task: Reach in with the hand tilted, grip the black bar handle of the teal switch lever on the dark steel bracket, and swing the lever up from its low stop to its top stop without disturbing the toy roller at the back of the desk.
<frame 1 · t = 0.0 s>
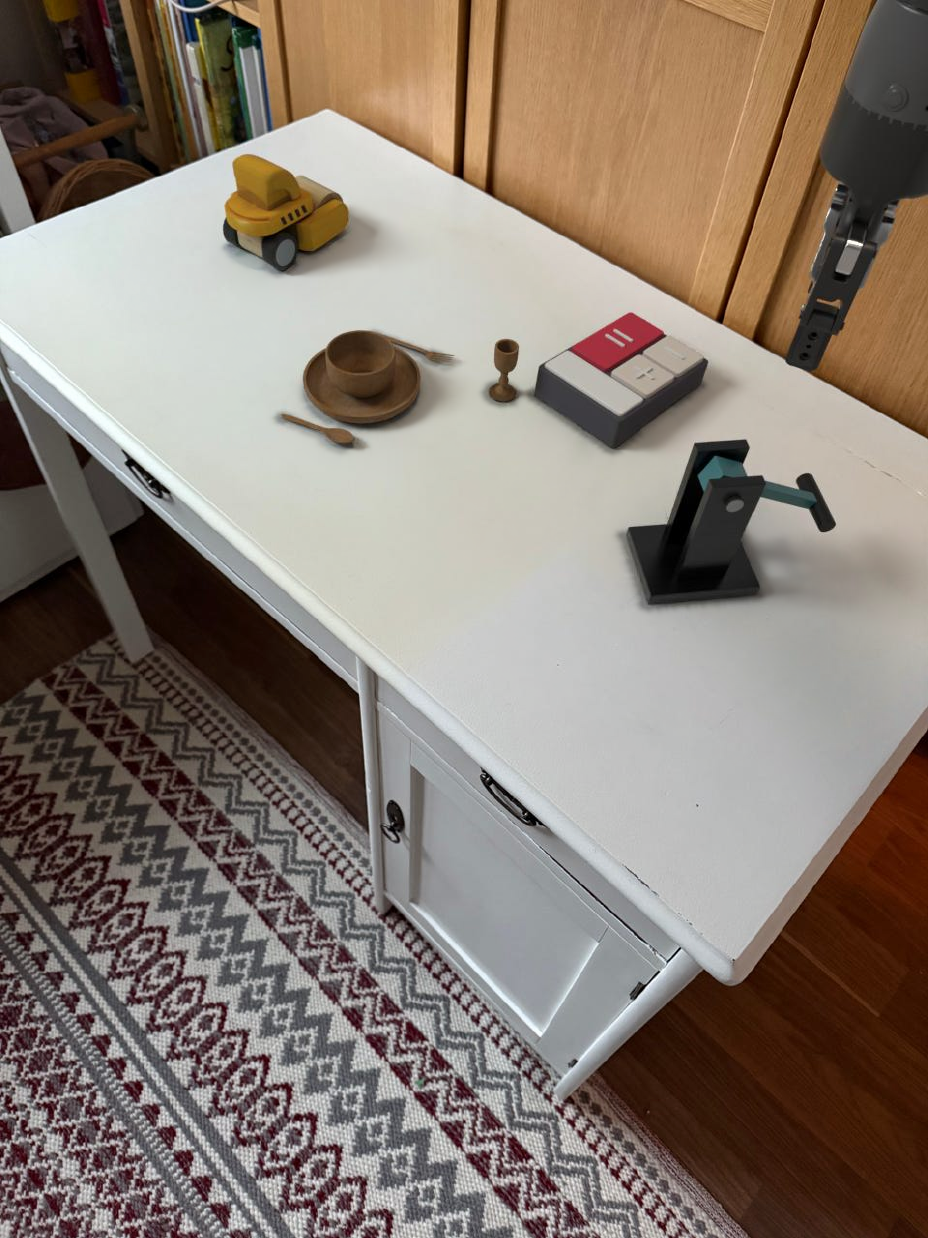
hand: (811, 329, 64), 24 cm above the table, tool pointing down, fingers open, 8 cm apart
calculator: (618, 390, 96), on the table
bracket: (689, 564, 82), on the table
place setting: (397, 403, 93), on the table
lever: (767, 490, 75), point 9 cm above the table, hinge at -22.0°
toy roller: (288, 242, 108), on the table
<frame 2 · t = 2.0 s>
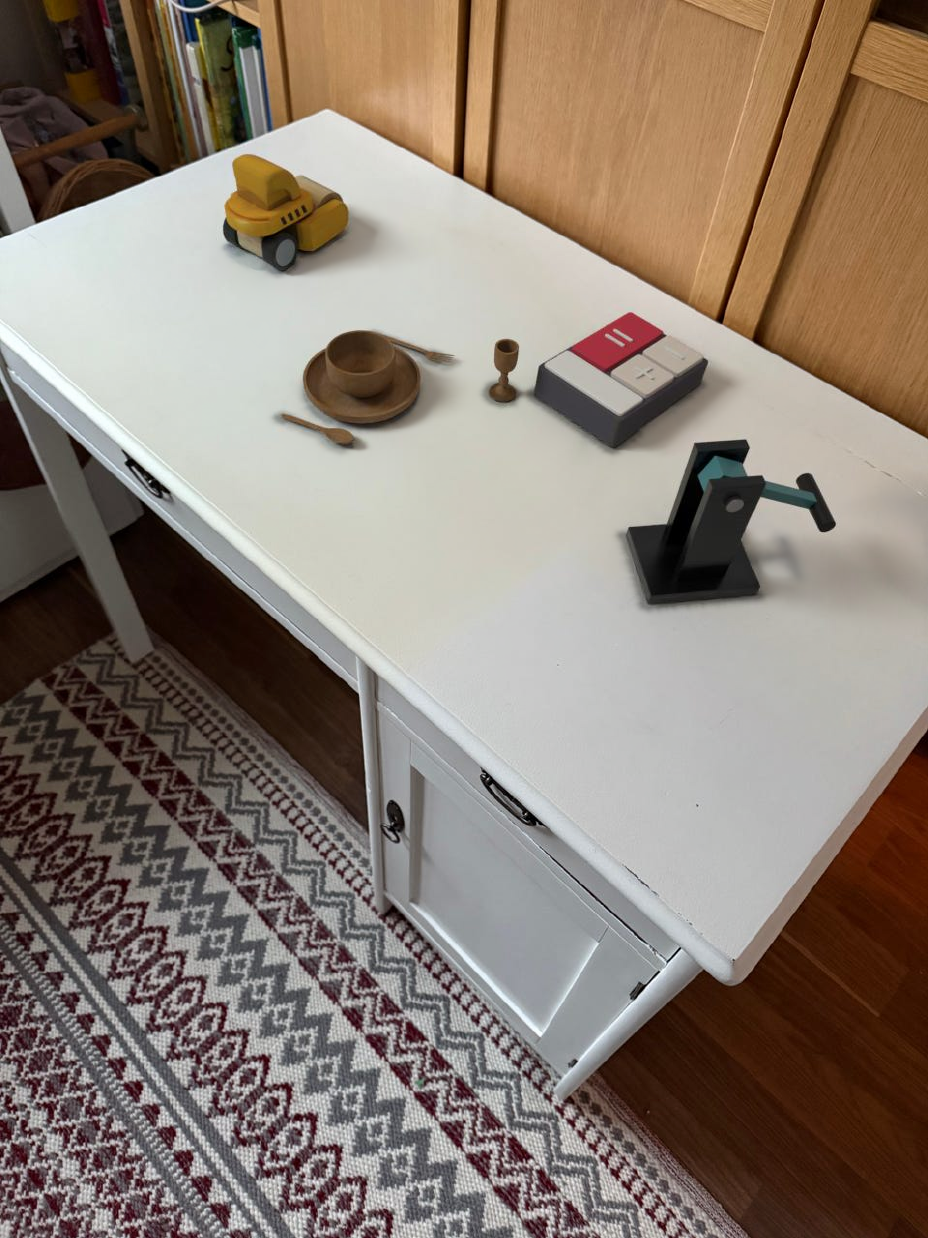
nothing on the table moved.
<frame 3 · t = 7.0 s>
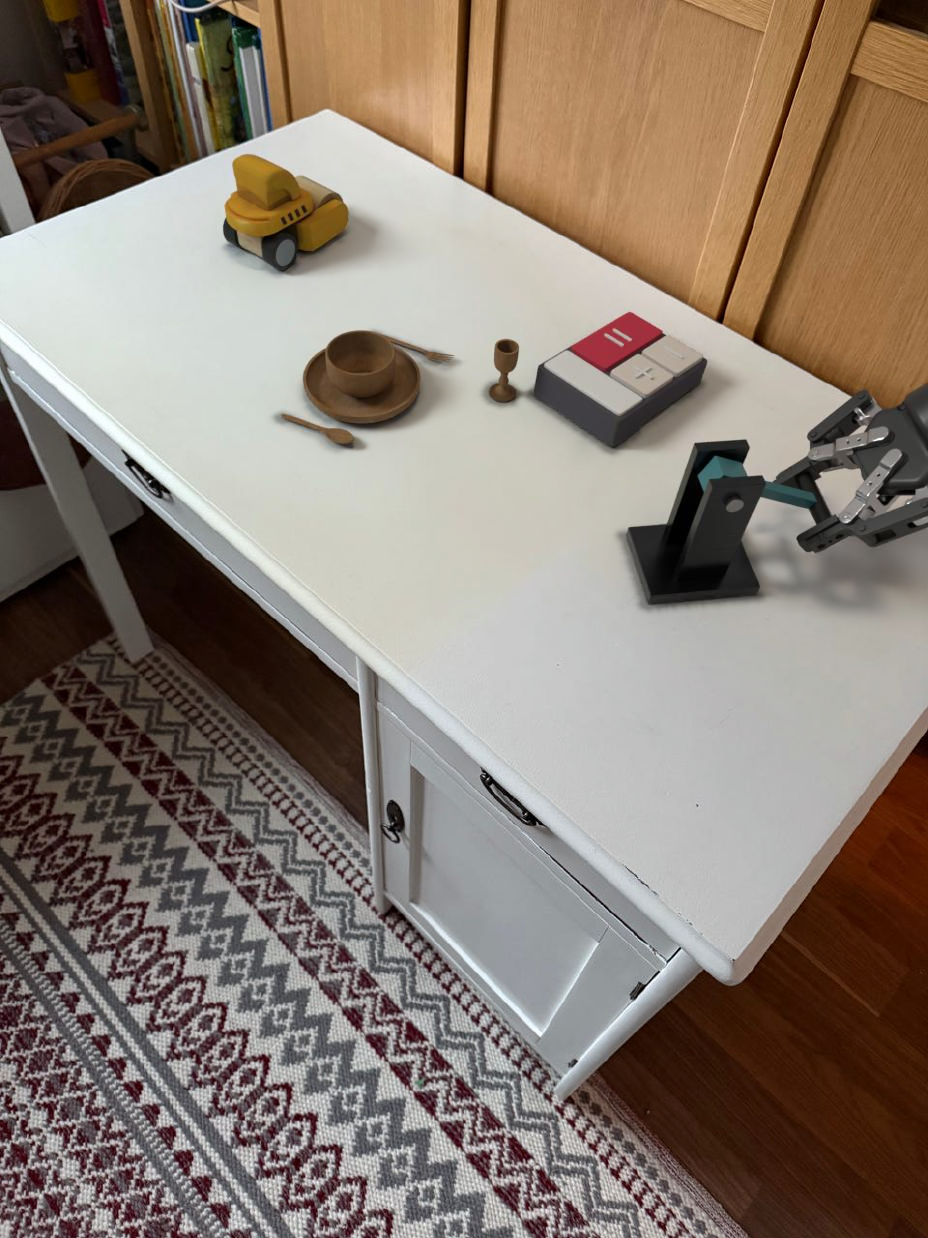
hand: (789, 517, 78), 6 cm above the table, tool tilted 45°, fingers closed on lever, 5 cm apart
lever: (767, 490, 75), point 9 cm above the table, hinge at -22.0°, touching gripper
everything else where it was.
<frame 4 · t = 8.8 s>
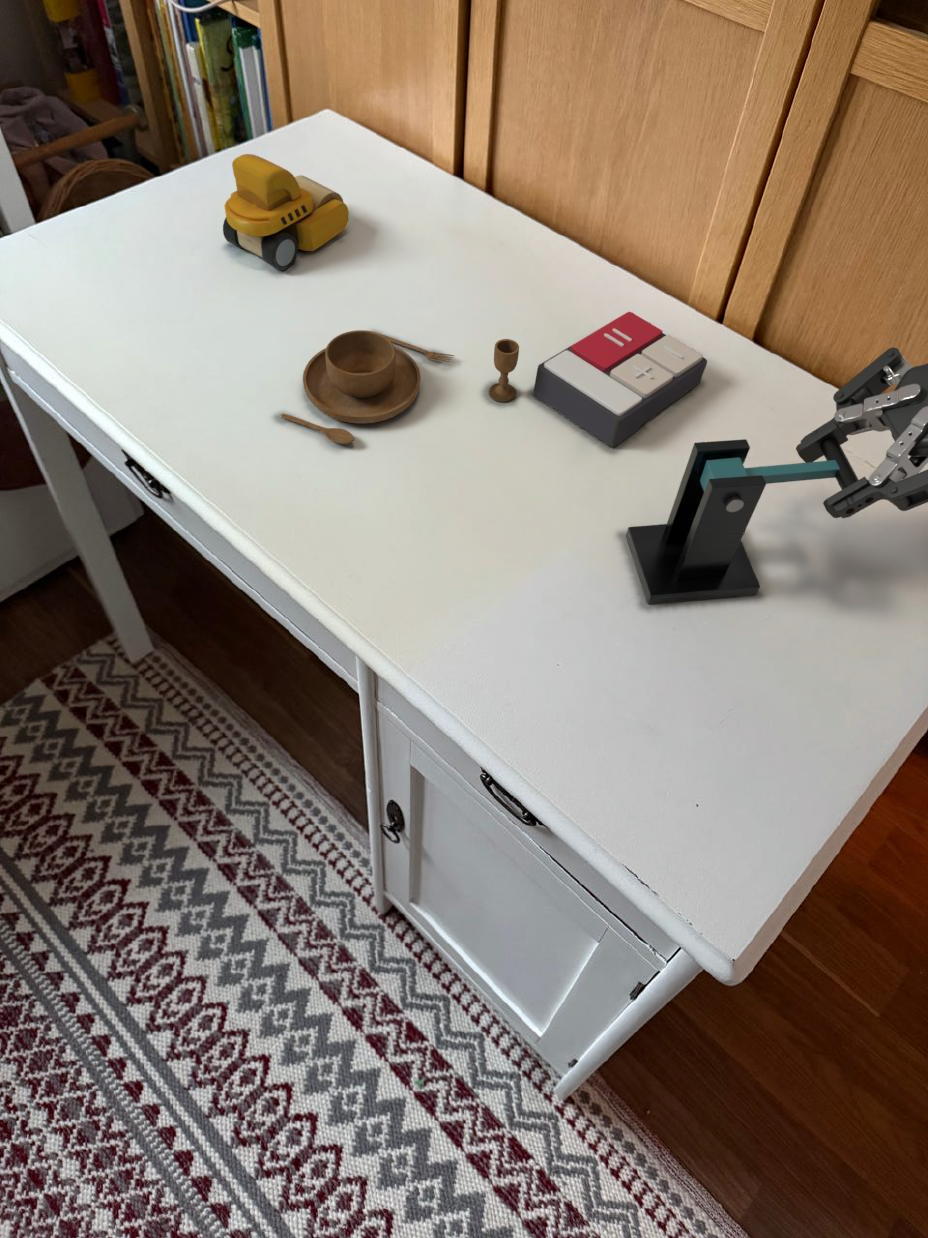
hand: (815, 482, 75), 10 cm above the table, tool tilted 45°, fingers closed on lever, 5 cm apart
lever: (778, 473, 74), point 11 cm above the table, hinge at 1.4°, touching gripper
everything else where it was.
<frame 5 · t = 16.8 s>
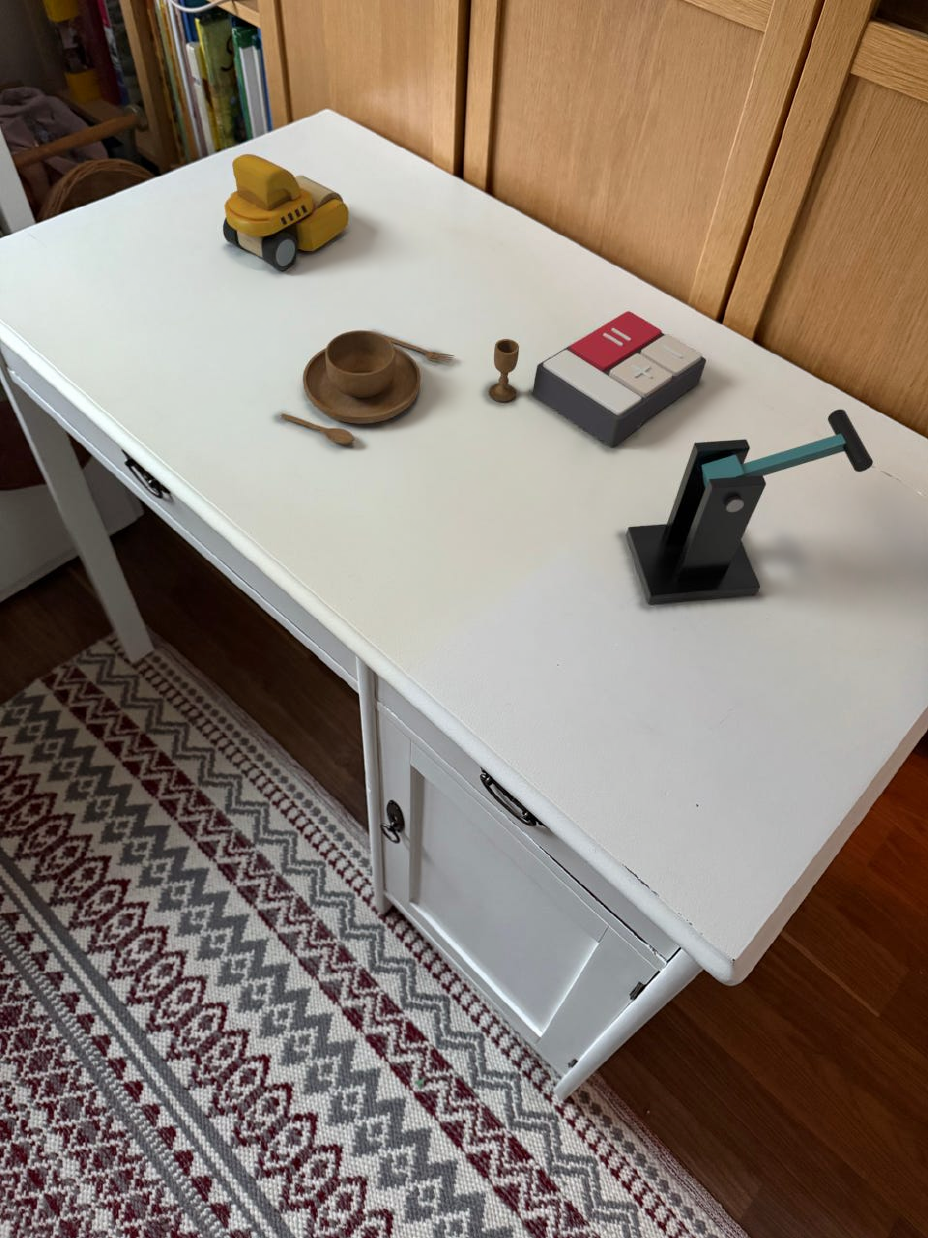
lever: (781, 461, 72), point 13 cm above the table, hinge at 19.8°
everything else where it was.
at the end: lever at +20° (first picture: -22°); toy roller moved 0.2 cm from its start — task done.
